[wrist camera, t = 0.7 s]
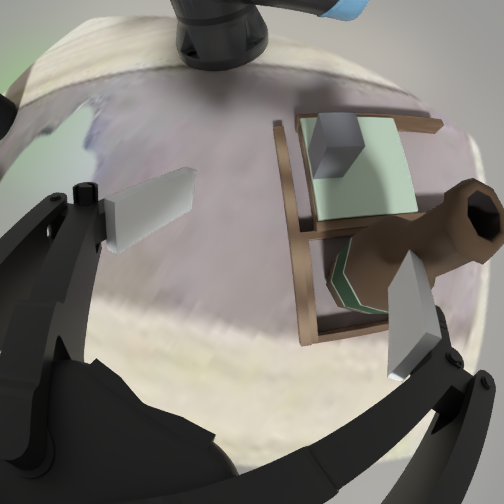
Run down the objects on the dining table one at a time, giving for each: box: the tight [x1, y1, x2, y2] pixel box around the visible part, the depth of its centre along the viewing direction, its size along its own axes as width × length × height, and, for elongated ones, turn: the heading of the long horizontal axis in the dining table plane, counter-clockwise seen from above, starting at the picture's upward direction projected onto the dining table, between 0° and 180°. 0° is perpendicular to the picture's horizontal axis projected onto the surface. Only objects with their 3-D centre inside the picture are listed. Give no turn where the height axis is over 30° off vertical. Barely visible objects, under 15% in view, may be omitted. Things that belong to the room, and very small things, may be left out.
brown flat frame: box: [274, 113, 444, 346], centre depth 31 cm, size 27×26×3 cm
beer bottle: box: [326, 178, 504, 314], centre depth 20 cm, size 8×8×24 cm
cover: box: [300, 112, 418, 221], centre depth 25 cm, size 13×13×9 cm
